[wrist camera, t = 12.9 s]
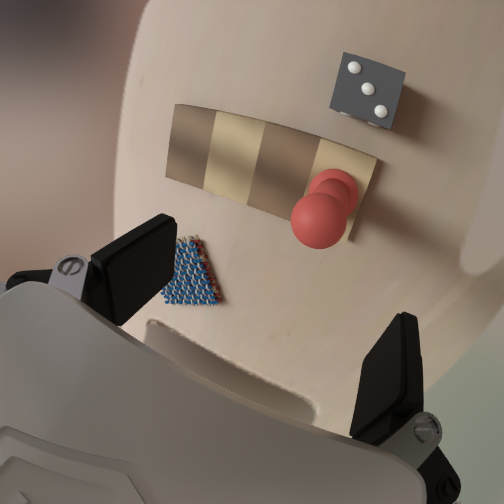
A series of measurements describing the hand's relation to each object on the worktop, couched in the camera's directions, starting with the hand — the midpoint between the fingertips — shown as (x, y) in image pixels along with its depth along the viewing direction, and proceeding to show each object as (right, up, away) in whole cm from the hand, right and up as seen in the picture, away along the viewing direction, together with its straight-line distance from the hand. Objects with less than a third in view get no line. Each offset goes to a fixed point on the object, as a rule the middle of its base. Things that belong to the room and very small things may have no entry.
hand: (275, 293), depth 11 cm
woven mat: (-10, -1, +29) cm, 31 cm away
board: (0, +11, +18) cm, 21 cm away
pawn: (+7, +7, +15) cm, 18 cm away
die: (+10, +16, +11) cm, 21 cm away
